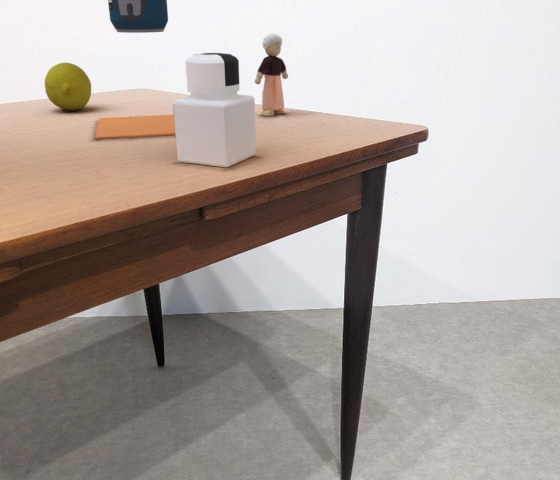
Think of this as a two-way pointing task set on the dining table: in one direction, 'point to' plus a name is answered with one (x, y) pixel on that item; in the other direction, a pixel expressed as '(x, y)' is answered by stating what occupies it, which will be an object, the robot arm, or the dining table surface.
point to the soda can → (138, 15)
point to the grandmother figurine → (272, 76)
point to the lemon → (68, 86)
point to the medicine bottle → (214, 113)
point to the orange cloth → (135, 126)
